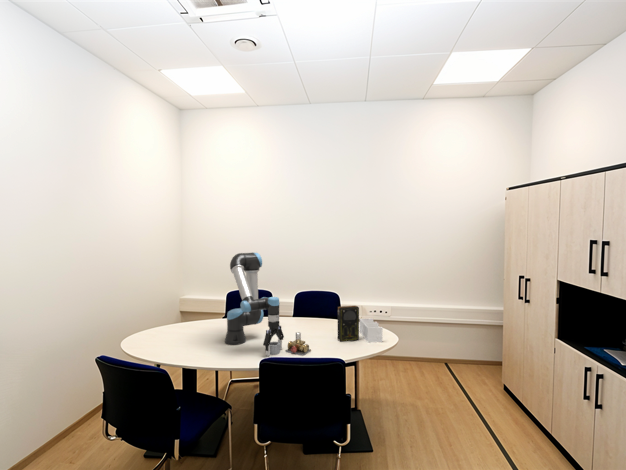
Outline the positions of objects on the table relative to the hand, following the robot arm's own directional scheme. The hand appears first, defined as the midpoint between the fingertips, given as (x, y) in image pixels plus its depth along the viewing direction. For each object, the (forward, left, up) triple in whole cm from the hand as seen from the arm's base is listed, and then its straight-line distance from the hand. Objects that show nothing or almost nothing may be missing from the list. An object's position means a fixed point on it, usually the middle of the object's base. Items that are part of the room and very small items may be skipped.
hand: (273, 352), depth 232 cm
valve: (+13, +10, 0) cm, 16 cm away
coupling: (0, 0, 0) cm, 0 cm away
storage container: (+44, +64, -1) cm, 78 cm away
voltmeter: (+32, +49, 0) cm, 58 cm away
